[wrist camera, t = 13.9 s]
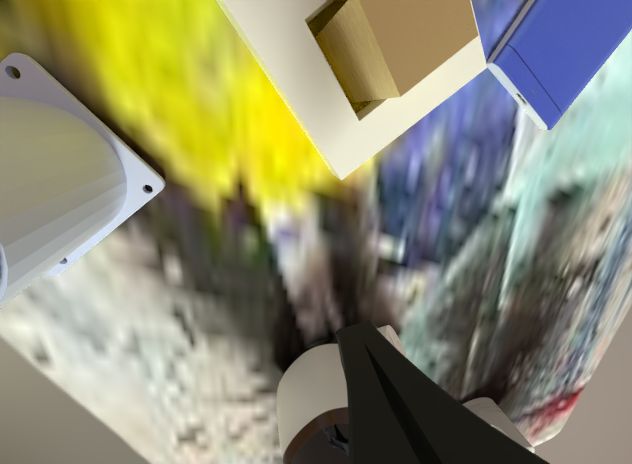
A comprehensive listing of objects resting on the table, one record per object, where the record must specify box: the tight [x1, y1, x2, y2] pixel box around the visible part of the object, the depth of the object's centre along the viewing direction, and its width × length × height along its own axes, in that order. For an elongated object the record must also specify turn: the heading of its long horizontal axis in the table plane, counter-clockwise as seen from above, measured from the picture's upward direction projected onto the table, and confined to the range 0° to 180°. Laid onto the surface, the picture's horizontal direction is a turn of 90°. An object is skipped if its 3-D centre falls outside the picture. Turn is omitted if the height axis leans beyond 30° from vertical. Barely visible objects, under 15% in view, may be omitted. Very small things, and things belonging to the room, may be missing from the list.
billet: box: [316, 0, 478, 103], centre depth 12 cm, size 4×4×6 cm
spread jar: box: [276, 325, 407, 464], centre depth 21 cm, size 12×11×12 cm
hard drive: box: [486, 0, 632, 130], centre depth 17 cm, size 2×8×12 cm
